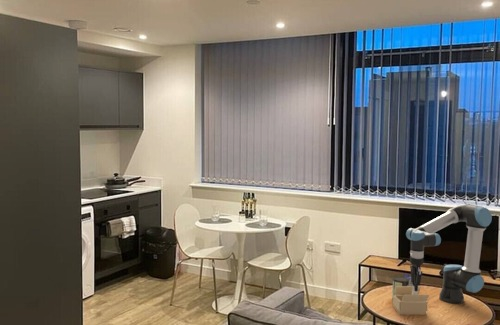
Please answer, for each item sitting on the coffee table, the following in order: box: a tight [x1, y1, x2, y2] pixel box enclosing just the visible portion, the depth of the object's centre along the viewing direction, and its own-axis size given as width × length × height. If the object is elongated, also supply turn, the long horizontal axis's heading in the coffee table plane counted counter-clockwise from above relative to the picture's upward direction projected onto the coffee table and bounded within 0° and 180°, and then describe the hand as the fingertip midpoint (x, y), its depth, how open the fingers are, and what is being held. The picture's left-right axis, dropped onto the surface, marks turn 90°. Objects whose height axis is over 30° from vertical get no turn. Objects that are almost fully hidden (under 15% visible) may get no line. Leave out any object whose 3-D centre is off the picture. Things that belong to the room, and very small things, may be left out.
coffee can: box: [391, 276, 409, 301], centre depth 326 cm, size 10×10×14 cm
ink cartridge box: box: [403, 273, 413, 286], centre depth 335 cm, size 10×6×14 cm, turn 92°
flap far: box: [395, 285, 421, 295], centre depth 311 cm, size 15×6×1 cm
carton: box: [392, 295, 428, 316], centre depth 307 cm, size 17×12×8 cm
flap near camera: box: [402, 294, 430, 302], centre depth 298 cm, size 15×6×1 cm
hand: (414, 295), depth 299 cm, fingers closed
